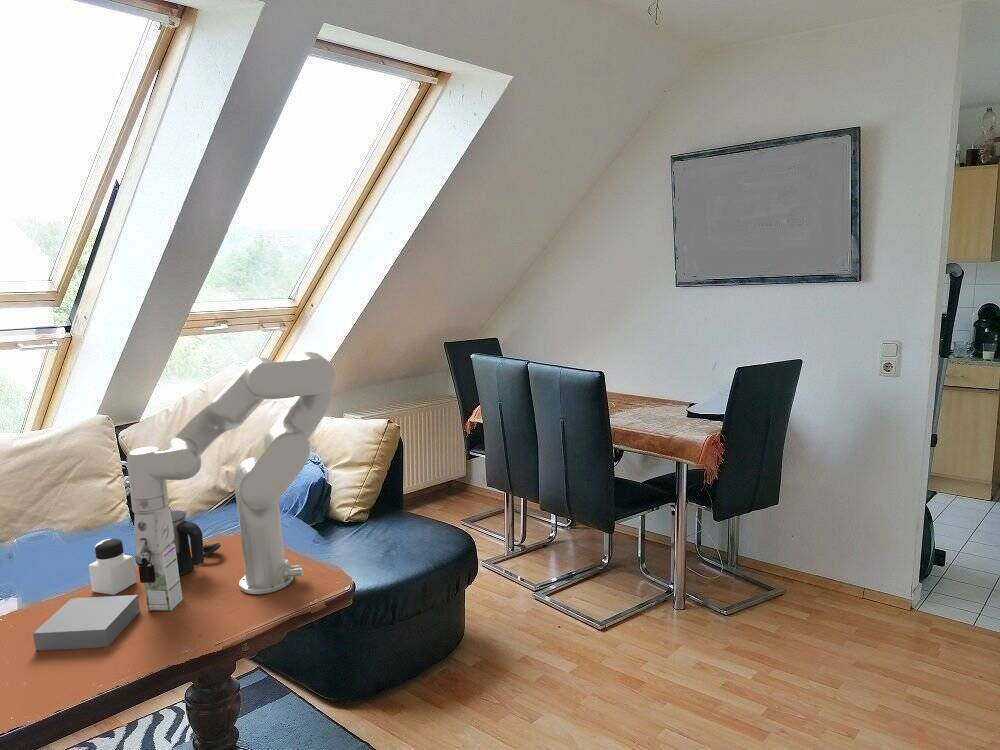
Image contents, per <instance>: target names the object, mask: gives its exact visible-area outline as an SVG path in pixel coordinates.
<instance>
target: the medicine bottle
mask: <svg viewBox="0 0 1000 750" xmlns="http://www.w3.org/2000/svg"><path fill="white" fill-rule="evenodd" d="M94 553H95V559H96V561H94V562H92V563H90V564H88V572H89V578H90V584H91V591H92V592H93V593H99V594H105V595H106V594H107V595H112V596H116V595H117V594H119V593H120V592H122V591H124V590H126V589H127V588H129V587H130V586H133V585H134V584H136V583H137V574H136V568H135V561H134V555H133V556H132V555H126V554H125V551H124V545H123V541H122V540H121V539H120V538H107V539H103V540H101V541H99V542H98V543H96V544H95V545H94Z"/></svg>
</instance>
